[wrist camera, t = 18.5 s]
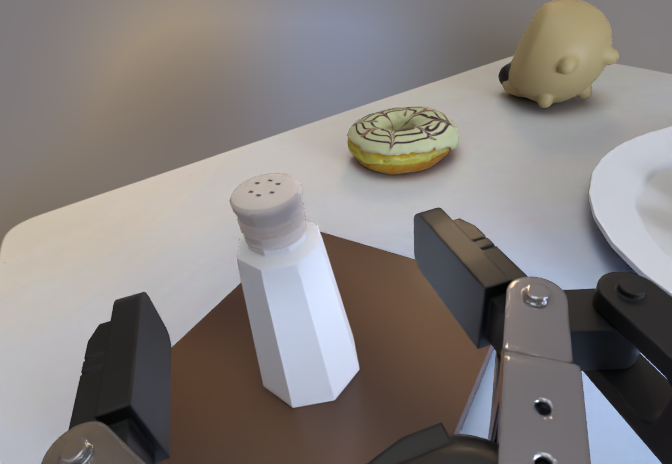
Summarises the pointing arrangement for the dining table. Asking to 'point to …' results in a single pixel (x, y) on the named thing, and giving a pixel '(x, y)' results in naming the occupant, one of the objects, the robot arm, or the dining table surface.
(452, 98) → the dining table surface
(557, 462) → the robot arm
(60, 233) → the dining table surface
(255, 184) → the salt shaker
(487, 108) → the dining table surface
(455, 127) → the decorated donut
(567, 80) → the toy pig
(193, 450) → the walnut board
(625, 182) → the plated food
